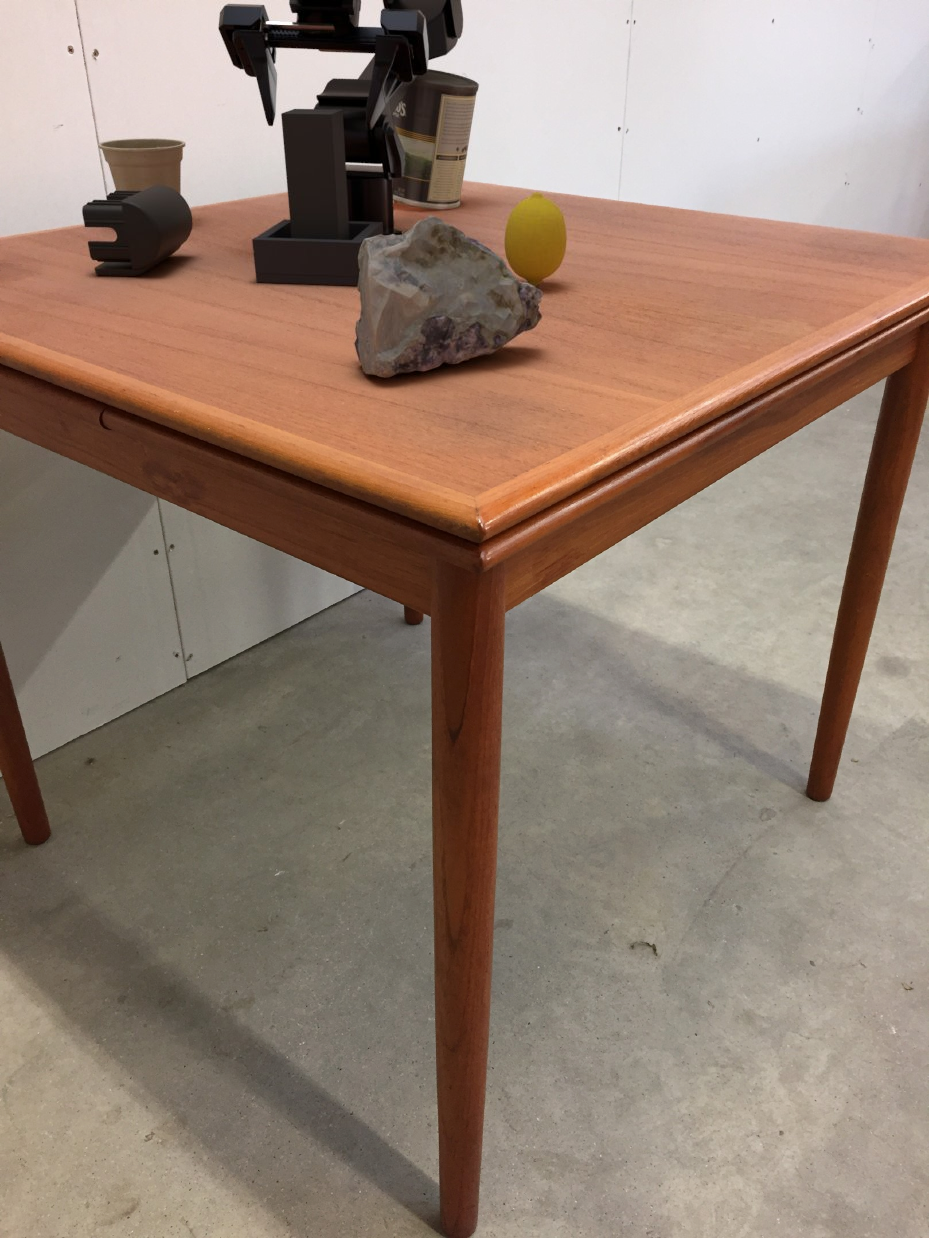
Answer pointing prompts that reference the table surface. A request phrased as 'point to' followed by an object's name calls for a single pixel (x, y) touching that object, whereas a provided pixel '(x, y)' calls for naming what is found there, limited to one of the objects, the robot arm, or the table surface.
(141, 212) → the end cap
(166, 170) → the flower pot
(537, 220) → the lemon
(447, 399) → the table surface
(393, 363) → the mineral rock
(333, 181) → the pad block
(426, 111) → the coffee can
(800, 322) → the table surface
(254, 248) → the socket pad
